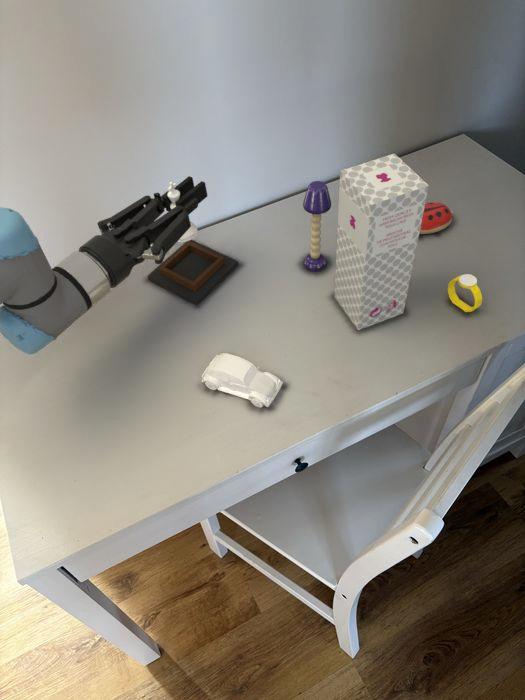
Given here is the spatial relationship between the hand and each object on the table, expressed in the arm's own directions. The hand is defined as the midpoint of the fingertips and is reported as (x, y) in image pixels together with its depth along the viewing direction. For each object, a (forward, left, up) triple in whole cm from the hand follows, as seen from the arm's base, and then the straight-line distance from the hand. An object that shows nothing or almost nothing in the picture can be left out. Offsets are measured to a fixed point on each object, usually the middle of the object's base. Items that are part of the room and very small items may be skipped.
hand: (198, 186), depth 89 cm
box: (+31, +5, -16) cm, 35 cm away
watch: (+44, +13, -16) cm, 48 cm away
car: (+23, -20, -16) cm, 34 cm away
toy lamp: (+18, +9, -16) cm, 25 cm away
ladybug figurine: (+30, +29, -16) cm, 44 cm away
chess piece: (0, -6, -6) cm, 8 cm away
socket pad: (0, -5, -16) cm, 16 cm away
